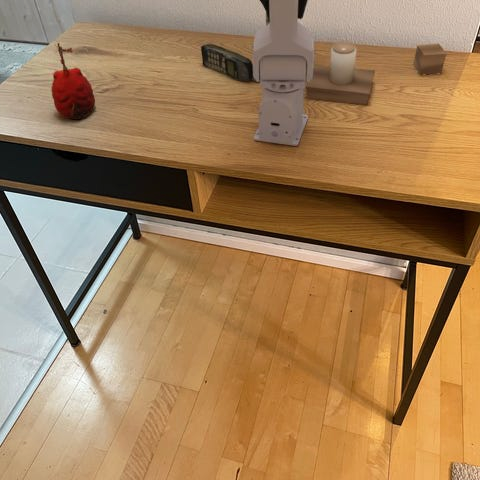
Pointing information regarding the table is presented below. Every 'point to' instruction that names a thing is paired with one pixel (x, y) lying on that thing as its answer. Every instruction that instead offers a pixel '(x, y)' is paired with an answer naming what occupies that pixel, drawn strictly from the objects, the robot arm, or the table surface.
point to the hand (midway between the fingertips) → (287, 24)
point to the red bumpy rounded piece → (71, 91)
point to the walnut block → (429, 59)
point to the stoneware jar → (342, 63)
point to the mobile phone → (227, 62)
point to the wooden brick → (340, 86)
